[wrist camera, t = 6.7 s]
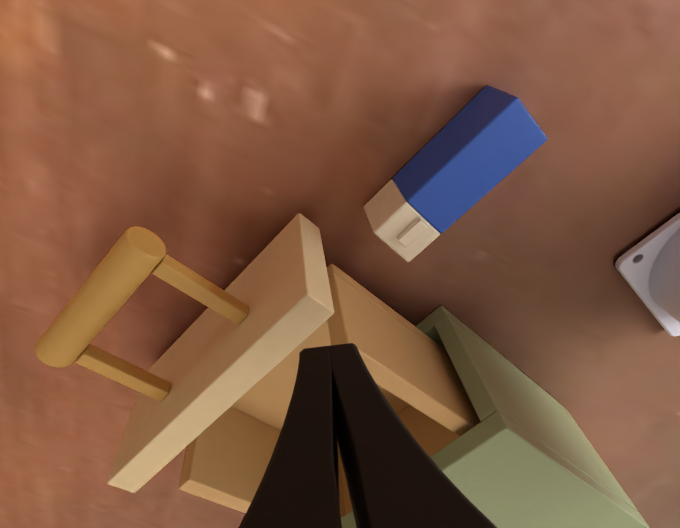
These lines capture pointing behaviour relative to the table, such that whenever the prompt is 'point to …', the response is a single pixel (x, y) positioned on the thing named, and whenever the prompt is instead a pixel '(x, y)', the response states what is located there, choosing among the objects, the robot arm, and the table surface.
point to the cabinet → (521, 446)
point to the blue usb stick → (453, 171)
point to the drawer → (249, 361)
